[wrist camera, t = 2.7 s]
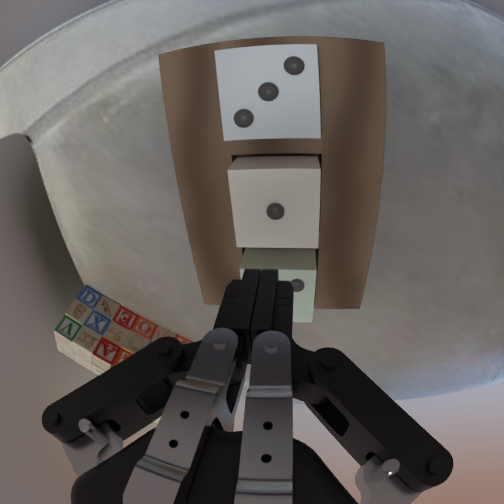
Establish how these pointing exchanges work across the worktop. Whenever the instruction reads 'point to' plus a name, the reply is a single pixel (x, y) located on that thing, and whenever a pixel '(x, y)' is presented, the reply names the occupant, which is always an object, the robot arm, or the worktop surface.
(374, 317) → the worktop surface
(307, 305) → the key
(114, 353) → the stack of blocks
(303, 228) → the key
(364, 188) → the key panel
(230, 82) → the key
